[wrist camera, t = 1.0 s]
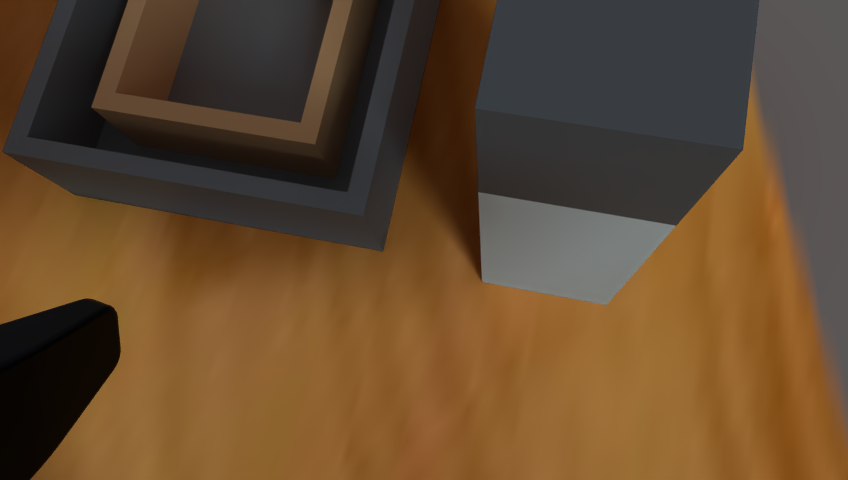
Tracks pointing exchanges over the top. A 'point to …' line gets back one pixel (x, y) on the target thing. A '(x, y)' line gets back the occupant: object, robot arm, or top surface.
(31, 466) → the robot arm
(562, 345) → the top surface
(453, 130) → the top surface
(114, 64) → the walled box
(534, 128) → the plug
